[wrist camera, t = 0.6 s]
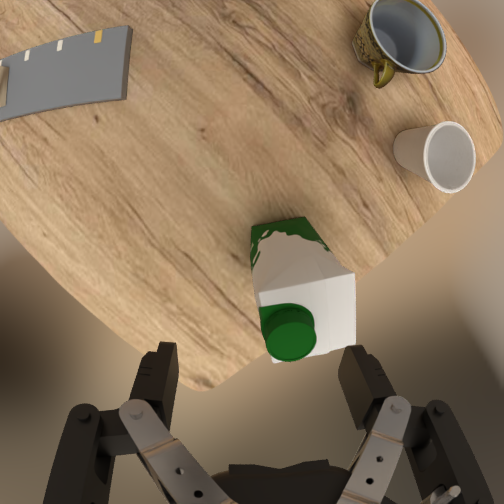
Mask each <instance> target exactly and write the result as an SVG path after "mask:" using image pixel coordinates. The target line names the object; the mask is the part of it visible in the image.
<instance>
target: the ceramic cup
mask: <svg viewBox="0 0 504 504" xmlns="http://www.w3.org/2000/svg"><path fill="white" fill-rule="evenodd" d="M352 45H353V48H354V51H355V53H356V56H357V59H358V61H359V62H360V63H362V64H363V65H365V66H366V67H368V68H370V69H371V70H373V71H374V81H373V84H374V86H375V87H376V88H379V89H380V88H382V87H384V86H385V85H387V84H388V83H389V82H390V81H391V79H392V78H393V76H394V74H395V72H401V73H411V74H425V73H430V72H433V71H435V70H436V69H438V68H439V67H440V66H441V64H442V63H443V61H444V59H445V56H446V49H447V47H446V39H445V35H444V32H443V29H442V27H441V25H440V23H439V21H438V20H437V18H436V17H435V16H434V14H433V13H432V12H431V11H430V10H429V9H428V8H427V7H426V6H425V5H423V4H422V3H421V2H419V1H418V0H375V1H374V3H373V4H372V5H371V7H370V8H369V10H368V12H367V14H366V15H365V18H364V20H363V23H362V25H361V26H360V28H359V30H358V31H357V33H356V35H355V37H354V39H353V41H352ZM379 71H383V74H382V77H381V79H380V81H379Z"/></svg>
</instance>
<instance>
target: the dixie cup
mask: <svg viewBox="0 0 504 504" xmlns="http://www.w3.org/2000/svg"><path fill="white" fill-rule="evenodd" d="M393 153H394V156H395V159H396V161H397V162H398V163H399V164H400V165H401V166H402V167H404V168H405V169H407V170H409V171H411V172H413V173H415V174H416V175H418V176H420V177H422V178H423V179H425V180H427V181H428V182H430V183H432V184H433V185H434V186H435V187H436V188H437V189H438V190H440V191H442V192H445V193H455V192H458V191H460V190H461V189H463V188H464V187H465V186H466V185H467V184H468V182H469V181H470V179H471V177H472V175H473V172H474V169H475V163H476V154H475V148H474V144H473V141H472V139H471V137H470V135H469V134H468V132H467V131H466V130H465V129H464V128H463V127H462V126H461V125H459V124H458V123H455V122H452V121H444V122H441V123H439V124H437V125H431V126H425V127H420V128H414V129H409V130H404V131H402V132H400V133H399V134H398V135H397V137H396V138H395V141H394V144H393Z"/></svg>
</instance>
